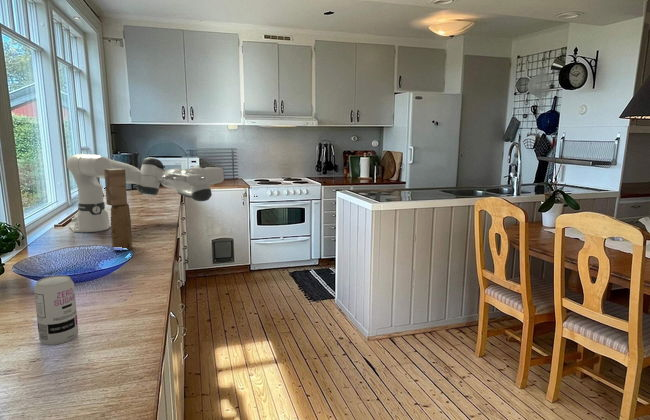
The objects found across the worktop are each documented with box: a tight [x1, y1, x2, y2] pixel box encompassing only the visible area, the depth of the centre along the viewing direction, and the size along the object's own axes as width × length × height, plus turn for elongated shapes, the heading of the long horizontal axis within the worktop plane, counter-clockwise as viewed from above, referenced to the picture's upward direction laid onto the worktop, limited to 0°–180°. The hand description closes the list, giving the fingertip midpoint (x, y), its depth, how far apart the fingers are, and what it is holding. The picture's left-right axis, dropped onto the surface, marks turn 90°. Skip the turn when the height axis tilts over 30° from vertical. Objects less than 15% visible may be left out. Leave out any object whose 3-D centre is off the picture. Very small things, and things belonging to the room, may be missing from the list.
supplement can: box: [33, 275, 79, 346], centre depth 103 cm, size 8×8×15 cm
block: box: [110, 202, 133, 250], centre depth 183 cm, size 11×8×20 cm
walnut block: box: [104, 169, 128, 207], centre depth 179 cm, size 6×6×15 cm
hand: (169, 178), depth 197 cm, fingers open, 8 cm apart
